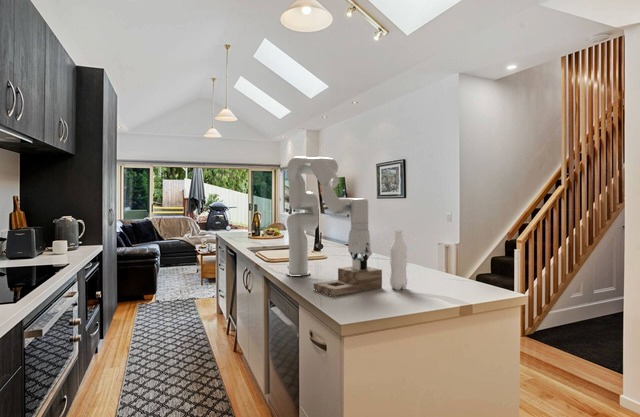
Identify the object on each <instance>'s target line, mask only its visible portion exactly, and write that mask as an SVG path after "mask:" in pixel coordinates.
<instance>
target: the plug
mask: <svg viewBox="0 0 640 417" xmlns="http://www.w3.org/2000/svg"><path fill="white" fill-rule="evenodd" d="M351 264H352V269H354V270H358V271H361V256H360V257H358V258H356V259H354V260H353V259H352V262H351ZM365 270H367V269H365Z"/></svg>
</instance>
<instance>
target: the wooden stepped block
mask: <svg viewBox="0 0 640 417" xmlns="http://www.w3.org/2000/svg"><path fill="white" fill-rule="evenodd" d="M382 284H383V269H380V268H376V267H371V266H367V270H361V271H358V270H354V269H352V266H344V267H339V268H337V279H333V280H327V281H320V282H315V283H313V290H314V289H315V290H317V291H320V292H323V293H326V294H328V295H327V296H329V295H331V296H330V297H332V296H334V297H333V298H336V297H335V296H337V297H341V295H343V296H347V294H348V295H352V294H357V293H363V292H369V291H374V290H378V289H383V285H382ZM317 291H316V292H317ZM320 292H319V293H320ZM323 293H322V294H323ZM326 294H325V295H326Z"/></svg>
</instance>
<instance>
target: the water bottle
mask: <svg viewBox="0 0 640 417" xmlns="http://www.w3.org/2000/svg"><path fill="white" fill-rule="evenodd" d="M403 237H404V236H403V230H401V229H397V230H394V239H393V242H392V243H391V245H390V249H389V253H390V254H389V255H390V256H389V257H390V262H389V263H390V279H389V283H390V287H391V289H392V290H396V291H400V290H401V289H402V290H403V291H404V290H406V288H407V286H408V278H407V265H408V247H407V244H405V241H404V238H403Z"/></svg>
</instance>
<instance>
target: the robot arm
mask: <svg viewBox="0 0 640 417" xmlns="http://www.w3.org/2000/svg"><path fill="white" fill-rule="evenodd" d="M338 169H339V165H338V163H337V161H336V160H335V159H334V158H331V157H325V156H316V157H309V156H294V157H292V158H290V160H289V161H288V163H287V166H286V176H287V179H288V181H287V182H288V197H289V198H288V199H289V200H288V201H289V202H288V203H289V207H290V208H291V210H295V211H304V212H293V213H291V214H290V215H288V217H287V218H286V227H287V231H288V232H287V233H288V265H287V267H286V268H287V269H288V271H289V274H291V275H308V274H310V273H311V271H310V270H308V266H309V263H308V262H309V261H308V260H309V258H308V256H309V254H308V253H309V252H308V250H309V249H308V248H309V247H308V237H307V235H306V232H310V231H313V230H314V231H315V230H316V229H317V228H318V227H319V222H320V221H319V220H320V218H319V216H320V215H319V213H320V212H319V210H320V209H319V199H318V196H317V195H316V194H315V193H314V192H312V191H306V181H305V178H304V177H303V176H302V175H304V174H305V175H314V176H315V177H316V179H317V181H318V182H319V183H320V185H321V187H322V200H323V202H324V204H325V206H326V207H327V209H328V210H329V212H331V214H333V215H336V216H345V215H346V216H347V215H350V230H349V234H348V241H347V242H348V244H347V245H348V246H347V249H348V253H349V254H350V256H351V259H352V260H354V259H356V258H359V254H360V257H361V270H365V269H367V267H368V260H369V257H370V256H372V254H373V252H372V251H371V237H370V236H371V235H370V230H369V200H368V199H367V198H363V197H362V198H360V197H359V198H353V197H338V195H337V194H336V193H335V191H334V190H335V189H334V188H336V187H337V186H338V184H339V182H340V179H339V177H338V175H337V173H338ZM287 274H288V273H287ZM311 274H312V273H311Z"/></svg>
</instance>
